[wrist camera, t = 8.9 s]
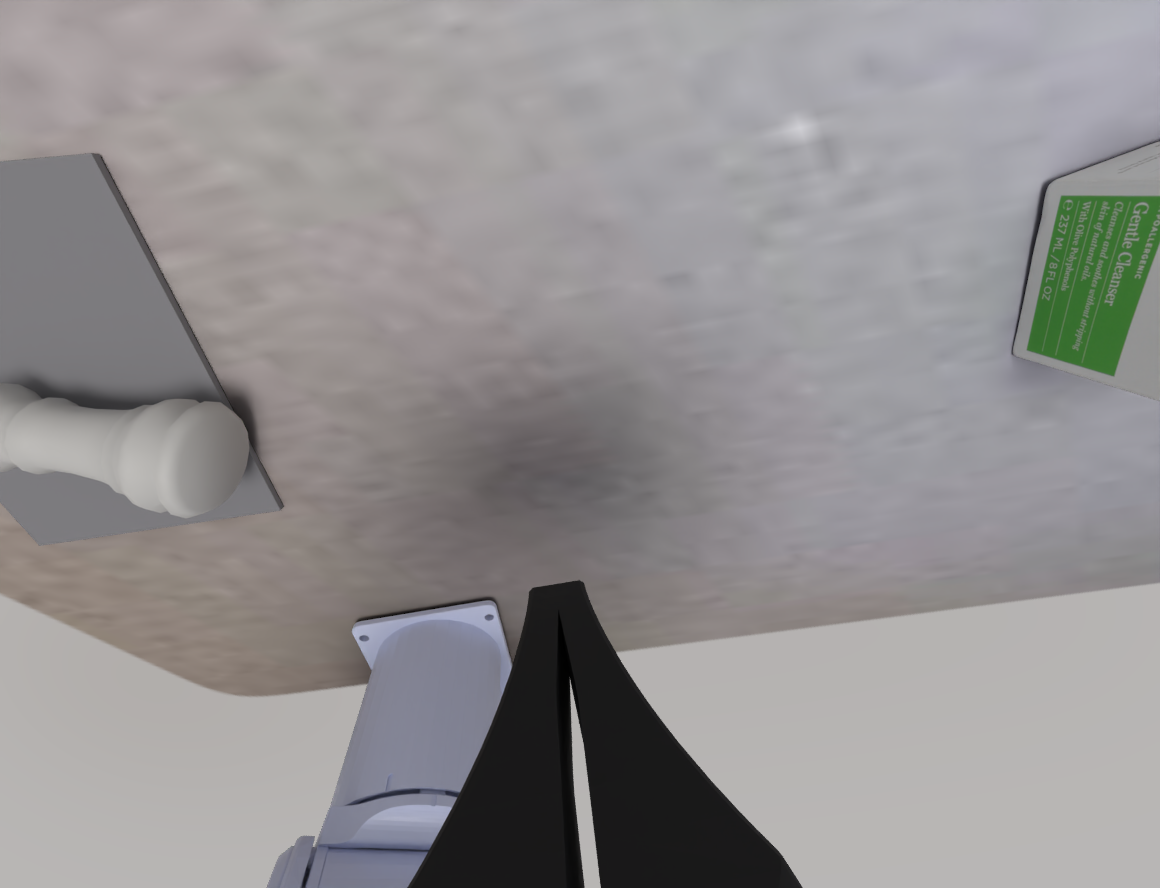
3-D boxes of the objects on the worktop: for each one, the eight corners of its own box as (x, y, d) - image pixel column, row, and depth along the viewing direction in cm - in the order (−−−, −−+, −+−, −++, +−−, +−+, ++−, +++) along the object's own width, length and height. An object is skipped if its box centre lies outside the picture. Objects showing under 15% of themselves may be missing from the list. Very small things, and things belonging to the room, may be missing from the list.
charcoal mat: (283, 506, 21) (280, 510, 21) (45, 541, 20) (39, 545, 20) (99, 154, 14) (91, 153, 14) (-271, 187, 13) (-287, 187, 13)
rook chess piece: (146, 489, 14) (-168, 445, 13) (216, 537, 17) (-21, 506, 16) (219, 378, 16) (-39, 333, 15) (267, 441, 20) (63, 408, 19)
